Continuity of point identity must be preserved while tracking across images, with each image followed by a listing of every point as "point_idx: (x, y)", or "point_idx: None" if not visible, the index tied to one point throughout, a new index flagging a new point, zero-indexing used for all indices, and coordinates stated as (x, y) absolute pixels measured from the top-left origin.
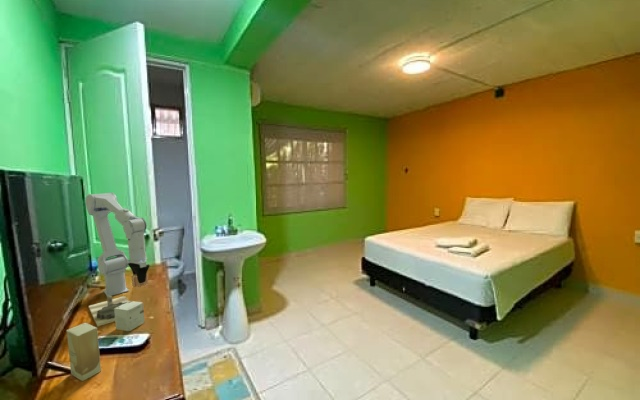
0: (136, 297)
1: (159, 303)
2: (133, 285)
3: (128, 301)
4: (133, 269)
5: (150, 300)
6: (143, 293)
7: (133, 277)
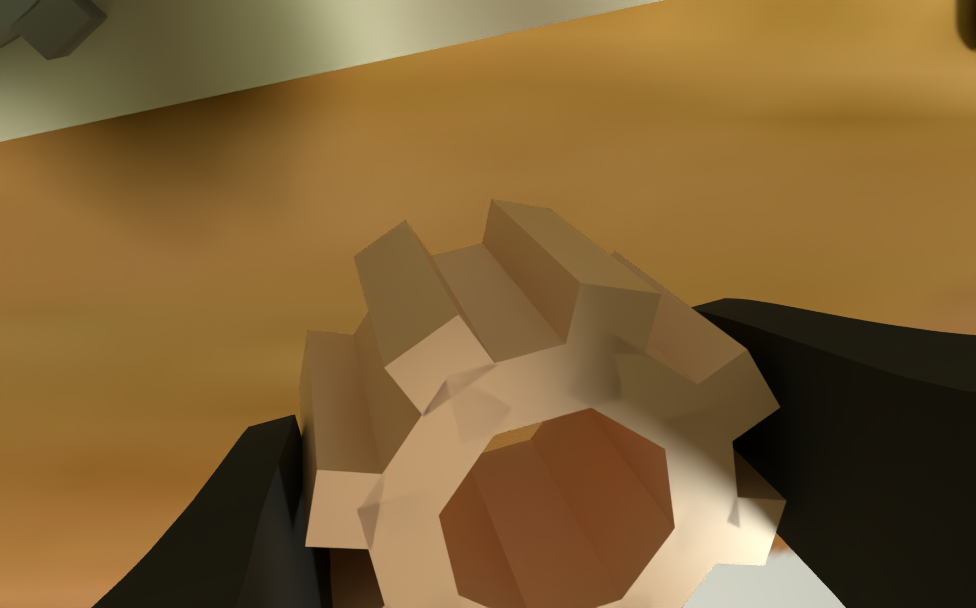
0: (586, 177)
1: (33, 524)
2: (397, 241)
3: (343, 52)
4: (922, 433)
5: (277, 390)
6: (696, 280)
7: (403, 355)
